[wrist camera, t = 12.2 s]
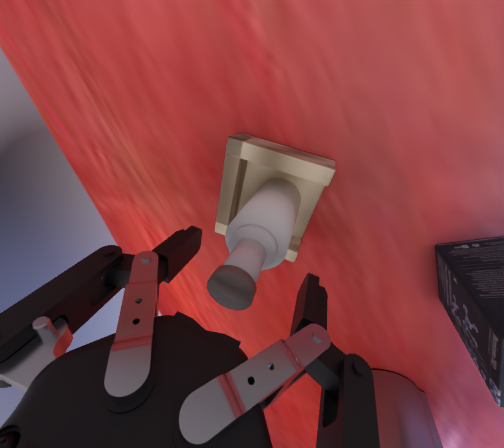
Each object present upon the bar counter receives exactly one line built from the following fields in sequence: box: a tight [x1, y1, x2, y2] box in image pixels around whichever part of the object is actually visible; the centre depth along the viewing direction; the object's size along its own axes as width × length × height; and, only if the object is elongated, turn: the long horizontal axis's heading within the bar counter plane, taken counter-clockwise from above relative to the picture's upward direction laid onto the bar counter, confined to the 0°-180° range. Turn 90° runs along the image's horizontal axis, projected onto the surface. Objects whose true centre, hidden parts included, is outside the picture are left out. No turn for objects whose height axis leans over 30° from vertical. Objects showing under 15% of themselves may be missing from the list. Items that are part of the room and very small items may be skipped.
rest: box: [215, 133, 336, 263], centre depth 23 cm, size 10×11×4 cm
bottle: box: [207, 178, 301, 310], centre depth 18 cm, size 5×5×14 cm
